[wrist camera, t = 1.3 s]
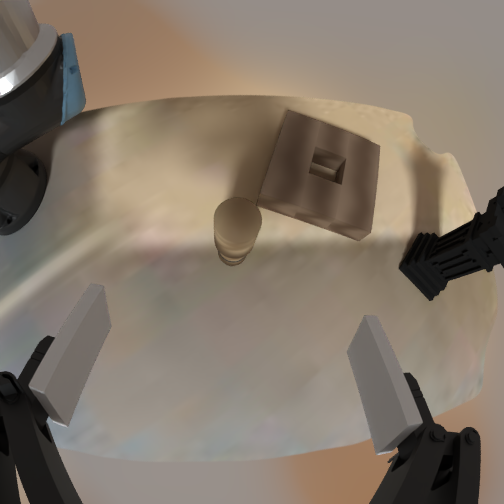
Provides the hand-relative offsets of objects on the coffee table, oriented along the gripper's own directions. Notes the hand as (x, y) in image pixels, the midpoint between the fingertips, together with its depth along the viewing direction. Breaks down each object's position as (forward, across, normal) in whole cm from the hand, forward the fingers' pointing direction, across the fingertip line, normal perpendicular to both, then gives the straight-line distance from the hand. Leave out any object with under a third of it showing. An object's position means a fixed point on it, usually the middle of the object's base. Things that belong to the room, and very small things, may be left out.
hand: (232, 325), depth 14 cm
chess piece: (+25, +31, -9) cm, 41 cm away
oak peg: (+24, 0, -10) cm, 26 cm away
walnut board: (+34, +12, 0) cm, 36 cm away
